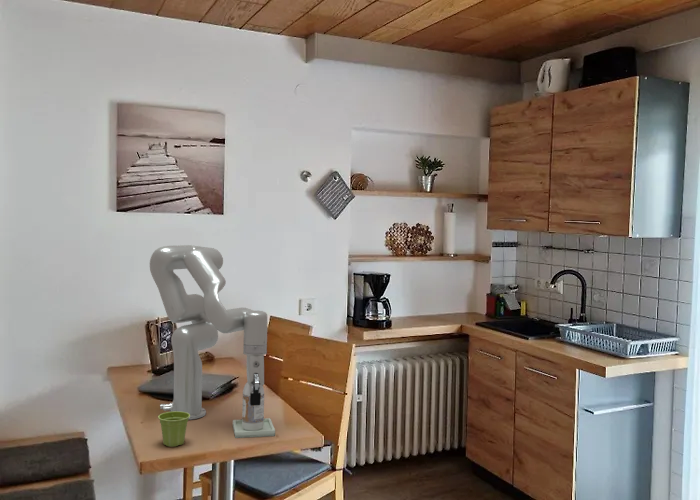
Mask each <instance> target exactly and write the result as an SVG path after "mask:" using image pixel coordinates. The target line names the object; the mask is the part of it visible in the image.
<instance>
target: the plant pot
mask: <svg viewBox="0 0 700 500" xmlns="http://www.w3.org/2000/svg"><path fill="white" fill-rule="evenodd" d="M189 417H190V414H189V413H186V412H180V411H173V412H169V411H165V412H163V413H160V414H159V415H158V416H157V418H158V420H159V423H160V428H161V435H162V444H163V445H164V446H166V447H172V448H174V447H177V446H179V445H180V446H181V445H182V446H183V445H184V443H185V438H186V433H187V427H188V422H189V420H188V418H189Z"/></svg>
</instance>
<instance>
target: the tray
mask: <svg viewBox="0 0 700 500" xmlns="http://www.w3.org/2000/svg"><path fill="white" fill-rule="evenodd" d="M232 430H233V434H234V438H235V439H245V438H262V437H276V428H275V427H274V424H273V421H272V419H271V418H270V417H268V418H265V417H264V424H263V428H262V429H260V430H256V431H248V430H245V429H243V428H242V419H232Z"/></svg>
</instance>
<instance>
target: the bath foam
mask: <svg viewBox="0 0 700 500" xmlns="http://www.w3.org/2000/svg"><path fill="white" fill-rule="evenodd" d="M260 392H261V400H260V405H254V406H251V405H250V393H251V386H250V385H249V383H248V380H247V382H246V383H245V384H244V386H243V389H242V409H241V410H242V412H241V413H242V414H241V415H242V417H241V420H242V428H243V429H245V430H248V431H256V430H260V429H262V428H263V424H264V419H265V416H264V415H265V389H264V385H263V386H262V385H261V384H260Z"/></svg>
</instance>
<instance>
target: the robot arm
mask: <svg viewBox="0 0 700 500" xmlns="http://www.w3.org/2000/svg"><path fill="white" fill-rule="evenodd" d="M223 264H224V258H223V255H222V253H221V252H220V251H219V250H218V249H216V248H214V247H205V246H201V245H200V246H199V245H192V244H191V245H189V244H184V245H181V244H180V245H165V246H161V247H158V248H157V249H155V250H154V251H153V252H152V254H151V256H150V260H149V270H150V274H151V277H152V279H153V281H154V283H155V285H156V288H157V290H158V293H159V295H160V298H161V301H162V304H163V307H164V311H165V312H166V316H167V318H168V320H169V321H170V322H171V323H173V324H182V323H187V322H191V323H190V324H185V325H181V326H179V327H177V328H176V329H175V330H174V331H173V332H172V335H171V338H170V339H171V347H172V348H171V349H172V354H173V400H172V402H169V403H160V404H159V407H160V408H159V409H160V410H163V412H164V411H165V412H173V411H180V412H186V413H189V414H190V417H189V418H188V421H189V420H197V419H200V418H203V417H205V416H206V414H207V411H206V408H204V407H202V404H203V403H202V400H203V397H202V396H203V394H202V393H203V362H202V359H201V358H202V357H200V355H199V354H200V353H199V351H204V350H206V349H210V348H212V347H214V346H216V344H217V343H218V340H219V332H220V333H222V334H229V333H230V334H231V333H235V332H241V331H243V346H242V347H243V348H242V349H243V350H242V351H243V352H242V354H243V355H245V356H246V380H247V381H248V383H249V385H250V386H251V393H250V405H251V406H254V405H260V400H261V392H260V384H261V385H262V386H263V387H264V385H265V360H264V359H265V355H267V352H268V350H267V348H268V343H267V342H268V314H267V312H265V311H263V310H253V309H251V308H247V307H236V308H235V307H234V308H230V309H226V308H225V306H224V305H223V303H222V302H221V300H220V297H219V293H220V292H221V291H222V290H223V289H224V287H225V286H226V278H225V277H224V276H223V274H222V273H221V271H220V270H221V268H222V267H223ZM175 270H187V271H188V272H189V274H190V275H191V277H192V278H193V281H195V282H196V284H197V286H198V287H199V288H200V290H201V291H202V293H203V296H202V295H200V294H197V293H196V294H195V293H194V294H193V293H192V294H188V293H187V291H186V289H185V286H184V283H183V281H182V280H181V278H180V277H179V276H178V275H177V274H176V272H174V271H175Z"/></svg>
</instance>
